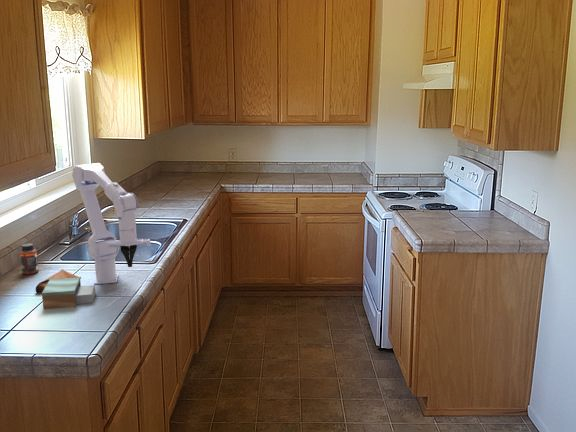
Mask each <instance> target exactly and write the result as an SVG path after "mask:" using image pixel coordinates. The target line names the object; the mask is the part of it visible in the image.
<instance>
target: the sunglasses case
mask: <svg viewBox="0 0 576 432" xmlns="http://www.w3.org/2000/svg"><path fill="white" fill-rule="evenodd" d="M78 277H80V279H81V278H82V277H81V276H77V275H75V274H73V273H71V272H69V271H66V270H64V269H63V268H62V269H60V271H58V272H56V273H54V274H53V275H51V276H50V277H48V278H47V279H45V280H42V281H41V282H39V283H38V284H37V285H36V287H35V293H36V294H40V295H42V292H43V290H44V289H45V287H46V285H47V283H48V282H49V280H50V279H63V278H78Z"/></svg>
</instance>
